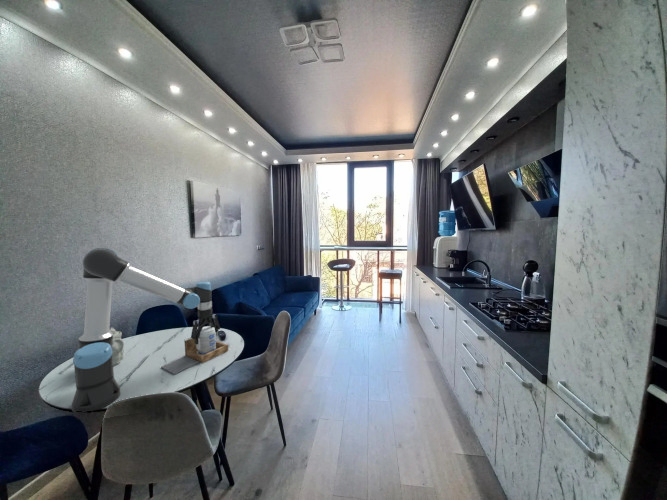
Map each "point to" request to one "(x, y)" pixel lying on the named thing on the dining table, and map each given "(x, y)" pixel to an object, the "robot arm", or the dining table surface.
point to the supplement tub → (207, 340)
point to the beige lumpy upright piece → (117, 347)
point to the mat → (180, 365)
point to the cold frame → (191, 353)
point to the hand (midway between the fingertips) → (206, 345)
